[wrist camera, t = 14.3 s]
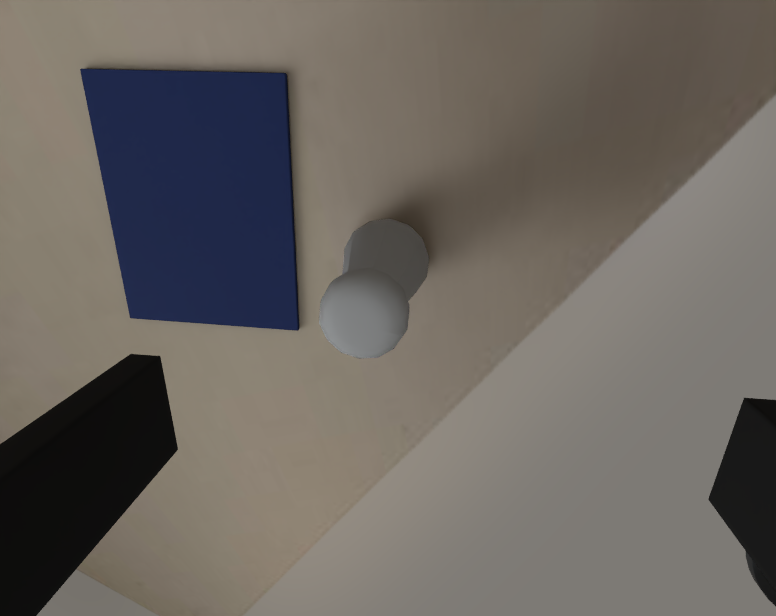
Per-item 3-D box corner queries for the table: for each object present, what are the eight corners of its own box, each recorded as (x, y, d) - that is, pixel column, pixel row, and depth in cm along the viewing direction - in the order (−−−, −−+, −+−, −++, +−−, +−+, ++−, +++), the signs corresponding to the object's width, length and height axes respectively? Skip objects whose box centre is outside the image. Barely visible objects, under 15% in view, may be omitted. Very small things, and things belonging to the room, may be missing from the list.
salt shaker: (378, 304, 34) (343, 399, 22) (334, 241, 32) (272, 305, 20) (444, 265, 32) (447, 344, 20) (402, 196, 31) (377, 238, 19)
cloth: (287, 73, 29) (285, 72, 28) (299, 328, 35) (297, 330, 35) (84, 69, 30) (79, 68, 30) (133, 316, 37) (130, 318, 36)
